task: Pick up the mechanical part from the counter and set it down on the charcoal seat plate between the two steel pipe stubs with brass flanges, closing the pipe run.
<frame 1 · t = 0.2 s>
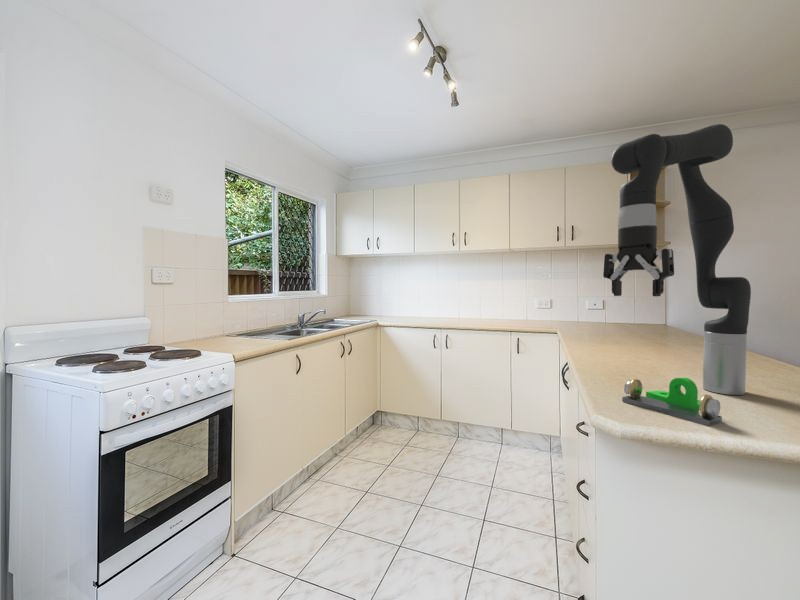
hand: (636, 296, 84), 28 cm above the countertop, tool pointing down, fingers open, 8 cm apart
mechanical part: (676, 405, 93), on the countertop
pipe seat: (667, 410, 88), on the countertop
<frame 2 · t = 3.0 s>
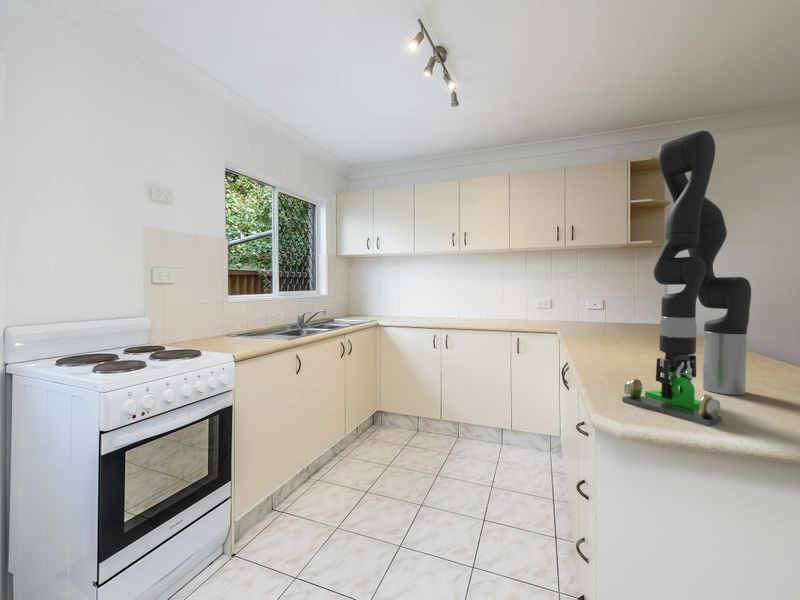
hand: (675, 396, 93), 2 cm above the countertop, tool pointing down, fingers open, 8 cm apart
nothing on the countertop moved.
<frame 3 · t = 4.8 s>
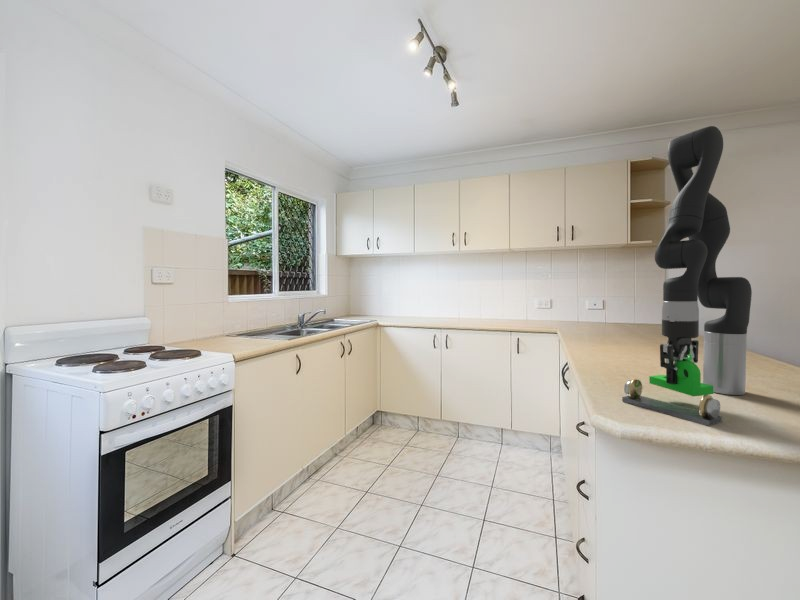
hand: (679, 381, 93), 6 cm above the countertop, tool pointing down, fingers closed on mechanical part, 7 cm apart
mechanical part: (679, 389, 93), point 4 cm above the countertop, touching gripper
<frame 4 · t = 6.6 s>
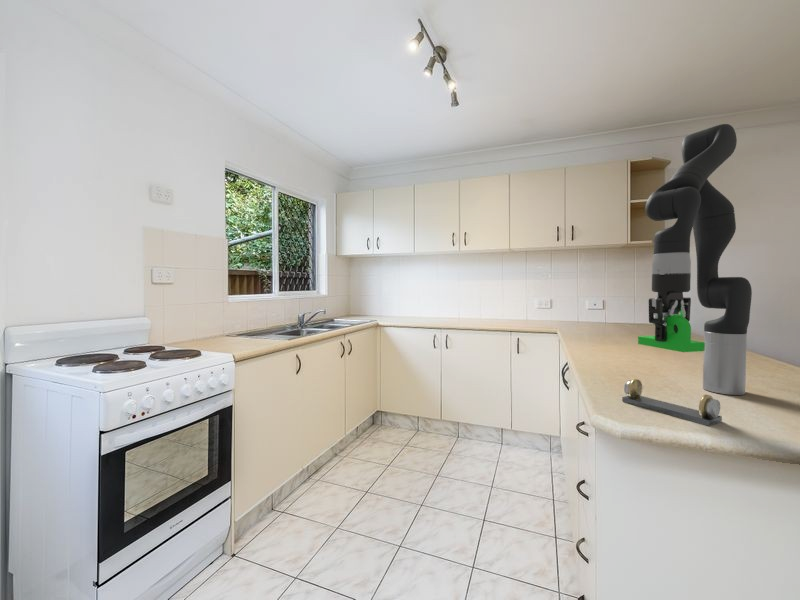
hand: (669, 340, 87), 17 cm above the countertop, tool pointing down, fingers closed on mechanical part, 7 cm apart
mechanical part: (669, 348, 88), point 16 cm above the countertop, touching gripper
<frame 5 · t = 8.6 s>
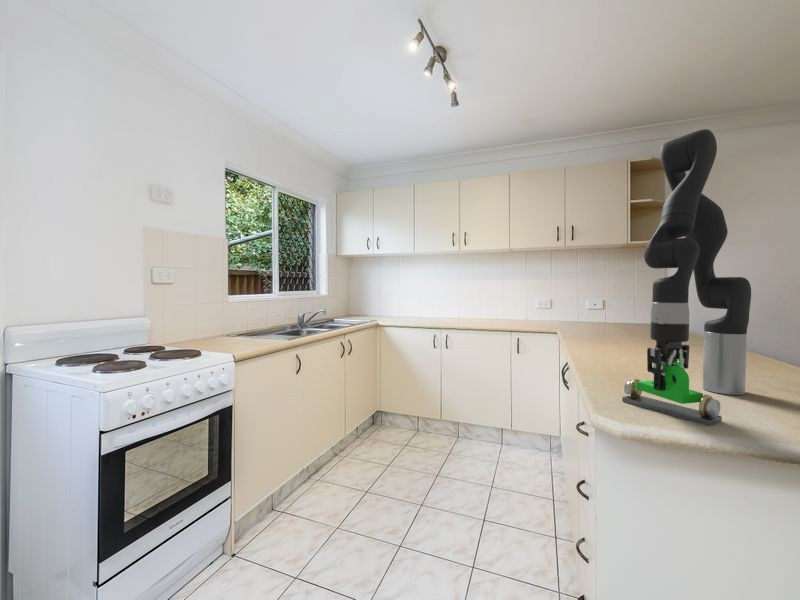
hand: (667, 388, 88), 6 cm above the countertop, tool pointing down, fingers closed on mechanical part, 7 cm apart
mechanical part: (667, 395, 88), point 4 cm above the countertop, touching gripper
when the fingers open (5 cm above the countertop, at t = 9.9 s): mechanical part drops 2 cm, resting on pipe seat.
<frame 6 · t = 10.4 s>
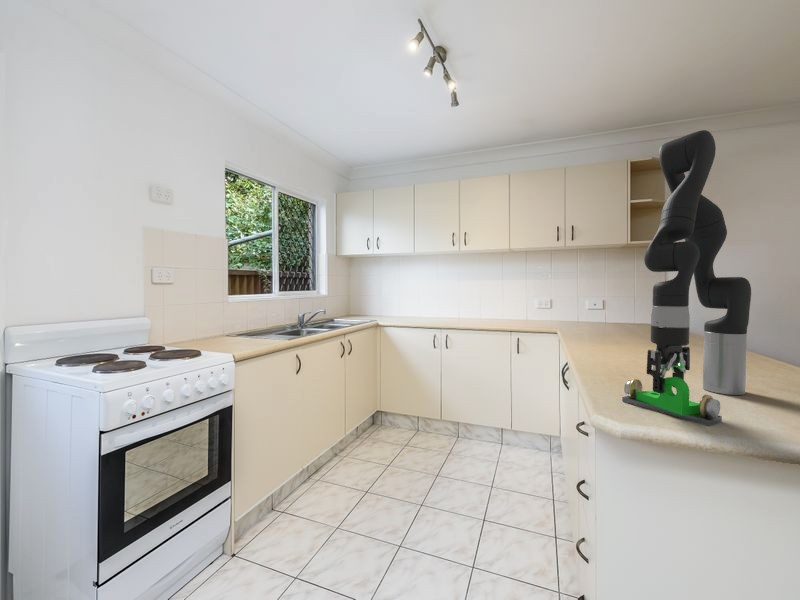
hand: (668, 390, 88), 5 cm above the countertop, tool pointing down, fingers open, 8 cm apart
mechanical part: (667, 406, 88), point 1 cm above the countertop, touching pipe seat
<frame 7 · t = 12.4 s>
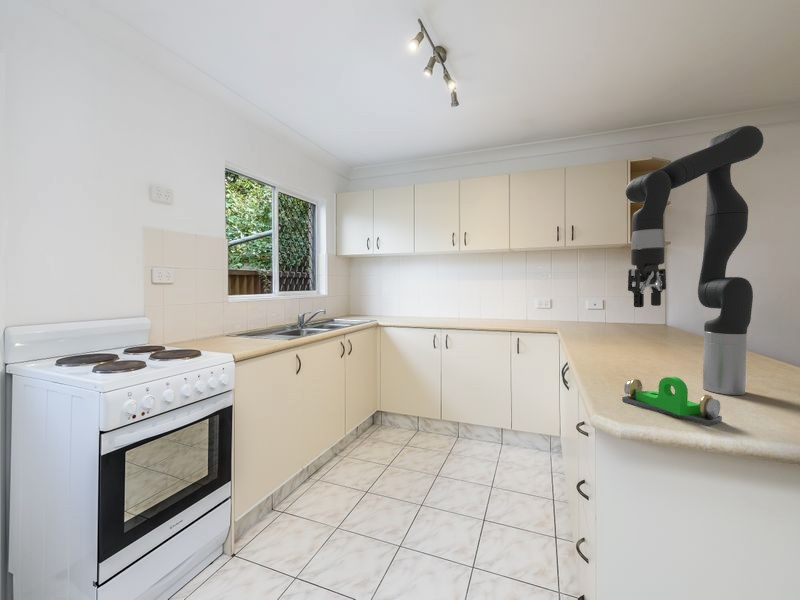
hand: (647, 306, 99), 25 cm above the countertop, tool pointing down, fingers open, 8 cm apart
nothing on the countertop moved.
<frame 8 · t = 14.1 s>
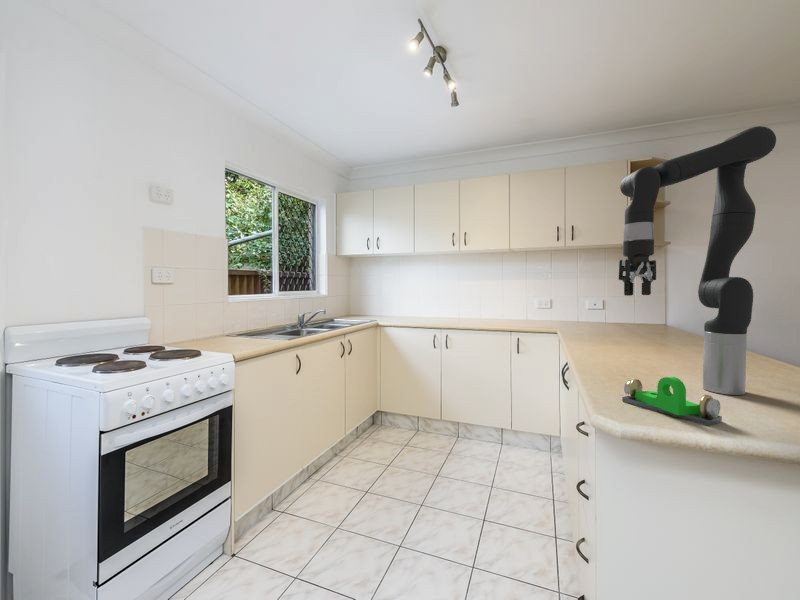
hand: (637, 295, 104), 28 cm above the countertop, tool pointing down, fingers open, 8 cm apart
nothing on the countertop moved.
at the end: mechanical part 0.5 cm off-centre on the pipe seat, point 1.0 cm above the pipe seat's base; mechanical part tilted 0°; the gripper is holding nothing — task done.
